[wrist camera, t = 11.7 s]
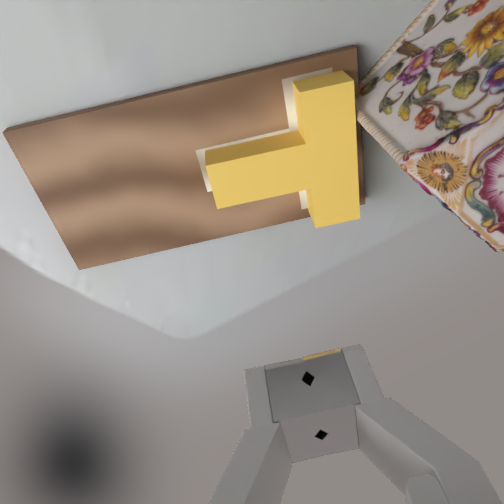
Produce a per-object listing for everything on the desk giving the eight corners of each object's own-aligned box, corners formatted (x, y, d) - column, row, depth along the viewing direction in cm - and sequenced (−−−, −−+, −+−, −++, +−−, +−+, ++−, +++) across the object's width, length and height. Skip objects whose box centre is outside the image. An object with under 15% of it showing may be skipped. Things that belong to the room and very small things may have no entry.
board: (6, 128, 35) (2, 132, 34) (352, 44, 35) (356, 47, 34) (81, 263, 43) (79, 270, 43) (361, 198, 43) (365, 204, 42)
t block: (192, 103, 35) (192, 116, 32) (342, 70, 35) (354, 80, 32) (225, 229, 42) (227, 247, 39) (350, 201, 42) (360, 218, 39)
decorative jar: (528, 74, 38) (737, 163, 23) (422, 175, 43) (541, 301, 28) (448, -29, 33) (653, 2, 18) (336, 98, 37) (429, 204, 23)
